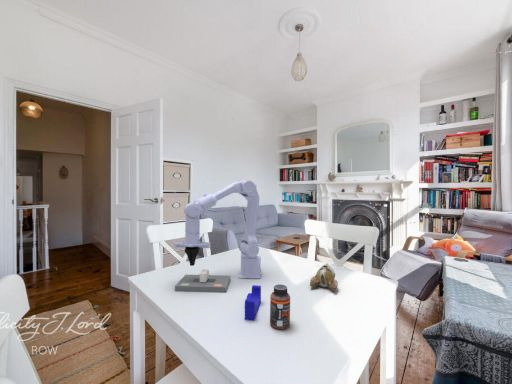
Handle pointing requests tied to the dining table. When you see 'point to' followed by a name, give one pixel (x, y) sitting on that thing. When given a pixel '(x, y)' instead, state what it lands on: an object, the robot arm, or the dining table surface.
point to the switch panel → (203, 283)
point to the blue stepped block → (252, 303)
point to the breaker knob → (204, 275)
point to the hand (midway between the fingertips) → (192, 264)
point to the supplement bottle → (280, 307)
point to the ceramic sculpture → (324, 278)
